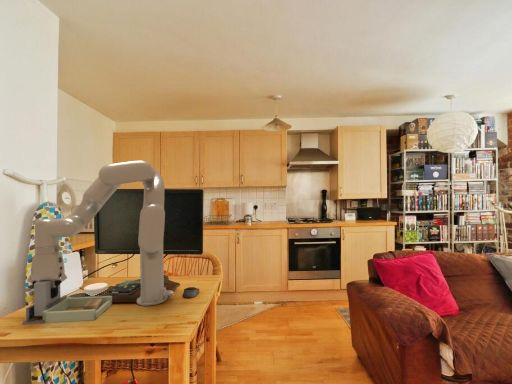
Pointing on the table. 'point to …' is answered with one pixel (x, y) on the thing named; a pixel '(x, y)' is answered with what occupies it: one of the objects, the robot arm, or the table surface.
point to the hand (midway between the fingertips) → (47, 297)
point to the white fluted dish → (95, 288)
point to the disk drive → (126, 287)
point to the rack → (60, 315)
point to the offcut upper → (93, 304)
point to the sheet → (43, 296)
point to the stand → (31, 316)
